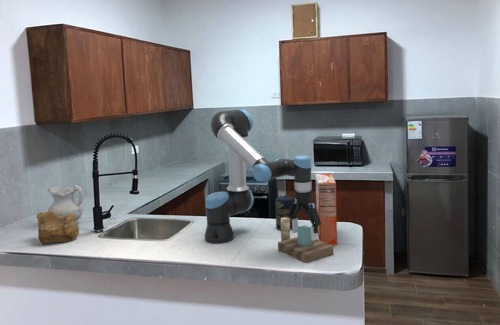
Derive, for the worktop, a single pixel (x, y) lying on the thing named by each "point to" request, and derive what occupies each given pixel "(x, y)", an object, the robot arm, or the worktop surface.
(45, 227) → the rough brown rock
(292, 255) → the socket block
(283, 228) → the round dowel
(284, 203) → the canister
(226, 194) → the robot arm
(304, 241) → the square peg
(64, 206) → the ceramic pitcher
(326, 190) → the pasta box
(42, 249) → the worktop surface
